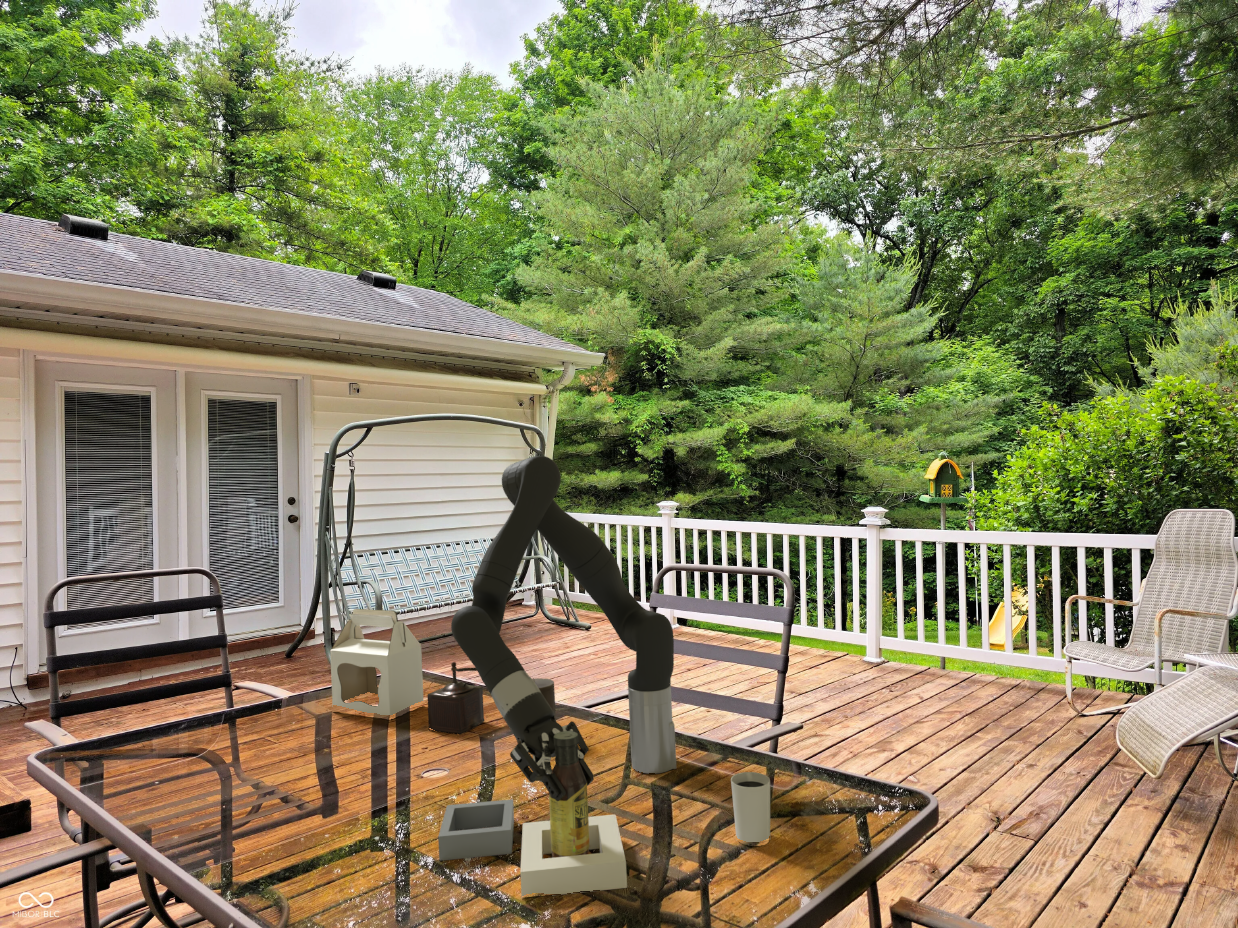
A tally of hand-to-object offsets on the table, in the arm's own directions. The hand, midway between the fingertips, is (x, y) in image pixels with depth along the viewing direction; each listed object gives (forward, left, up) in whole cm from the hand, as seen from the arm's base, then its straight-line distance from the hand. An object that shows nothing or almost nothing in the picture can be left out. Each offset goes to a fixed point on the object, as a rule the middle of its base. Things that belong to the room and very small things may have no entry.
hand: (576, 789), depth 121 cm
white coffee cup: (-30, -4, -13) cm, 33 cm away
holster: (+17, -13, -13) cm, 25 cm away
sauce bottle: (+1, -1, -11) cm, 12 cm away
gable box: (+52, -97, -13) cm, 110 cm away
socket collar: (+1, -1, -13) cm, 13 cm away
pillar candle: (+7, -61, -13) cm, 63 cm away
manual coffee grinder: (+26, -78, -13) cm, 83 cm away
